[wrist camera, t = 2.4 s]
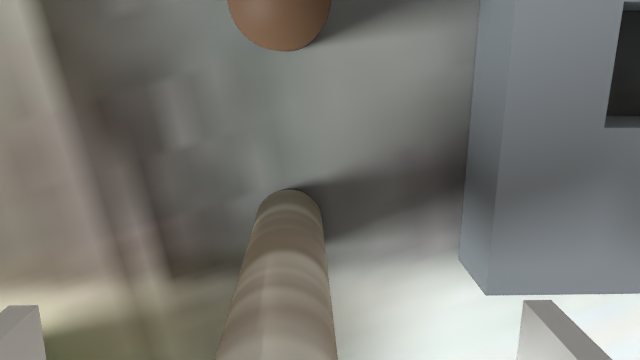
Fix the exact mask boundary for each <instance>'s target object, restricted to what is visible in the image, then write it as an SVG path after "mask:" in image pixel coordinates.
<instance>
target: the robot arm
mask: <svg viewBox="0 0 640 360" xmlns="http://www.w3.org/2000/svg"><path fill="white" fill-rule="evenodd" d="M0 360H46V353H45V347H44V340H43V334H42V327H41V321H40V314H39V308H38V305H30V306H8V307H7V308H6V309H4V310H3V311H2V312H1V313H0ZM517 360H612V359H611V358H610V357H609V356H608V355H607V354H606V353H605V352H604V351H603V350H602V349H601V348H600V347H599V346H598V345H597V344H596V343H595V342H593V341H592V340H591V339H590V338H589V337H588V336H587V335H586V334H585V333H584V332H583V331H582V330H581V329H580V328H579V327H578V326H577V325H576V324H575V323H574V322H573V321H572V320H571V319H570V318H569V317H568V316H567V315H566V314H565V313H564V312H563V311H562V310H561V309H560V308H559V307H558V306H557V305H556V304H554V303H553V302H552V301H551V300H523V309H522V318H521V326H520V335H519V343H518V352H517Z"/></svg>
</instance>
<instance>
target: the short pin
mask: <svg viewBox="0 0 640 360" xmlns="http://www.w3.org/2000/svg"><path fill="white" fill-rule="evenodd" d="M330 5H331V0H228V6H229V11H230V13H231V16H232V18H233V20H234V22H235V24H236V26H237V27H238V29H239V30H240V31H241V32H242V33H243V34H244V35H245V36H246V37H247V38H248V39H249V40H251V41H252V42H253V43H255V44H257V45H259V46H261V47H264V48H267V49H271V50H277V51H295V50H298V49H301V48H303V47H305V46H306V45H308V44H309V43H310V42H311V41H312V40H313V39H314V38H315V37H316V35H317V34H318V33H319V31H320V30H321V28H322V27H323V25H324V23H325V21H326V19H327V17H328V14H329V10H330Z"/></svg>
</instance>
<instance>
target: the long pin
mask: <svg viewBox="0 0 640 360" xmlns="http://www.w3.org/2000/svg"><path fill="white" fill-rule="evenodd" d="M215 360H338V358H337V350H336V341H335V332H334V323H333V314H332V305H331V296H330V287H329V278H328V269H327V260H326V251H325V242H324V233H323V224H322V216H321V212H320V209H319V207H318V205H317V204H316V202H315V201H314V200H313V199H312V198H311V197H310V196H309V195H307V194H305V193H303V192H301V191H298V190H291V189H287V190H280V191H277V192H275V193H273V194H271V195H270V196H268V197H267V198H266V199H265V200H264V201H263V202H262V204H261V205H260V207H259V209H258V212H257V216H256V219H255V222H254V226H253V229H252V233H251V236H250V240H249V243H248V246H247V250H246V253H245V257H244V260H243V264H242V267H241V271H240V274H239V277H238V281H237V284H236V288H235V291H234V295H233V298H232V301H231V305H230V308H229V312H228V315H227V319H226V322H225V325H224V329H223V332H222V336H221V339H220V343H219V346H218V350H217V353H216V356H215Z"/></svg>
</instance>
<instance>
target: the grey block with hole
mask: <svg viewBox="0 0 640 360" xmlns="http://www.w3.org/2000/svg"><path fill="white" fill-rule="evenodd" d="M622 11H640V0H480V10H479V22H478V34H477V45H476V57H475V69H474V81H473V93H472V105H471V117H470V128H469V140H468V152H467V164H466V176H465V188H464V200H463V212H462V223H461V235H460V247H459V261H460V262H461V263H462V265H463V266H464V267H465V269H466V270H467V271H468V273H469V274H470V275H471V277H472V278H473V279H474V281H475V282H476V283H477V285H478V286H479V287H480V289H481V290H482V291H483V292H484V294H485V295H558V294H634V293H640V116H606V113H607V107H608V100H609V94H610V88H611V81H612V75H613V68H614V62H615V56H616V49H617V43H618V37H619V30H620V24H621V17H622Z"/></svg>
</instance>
